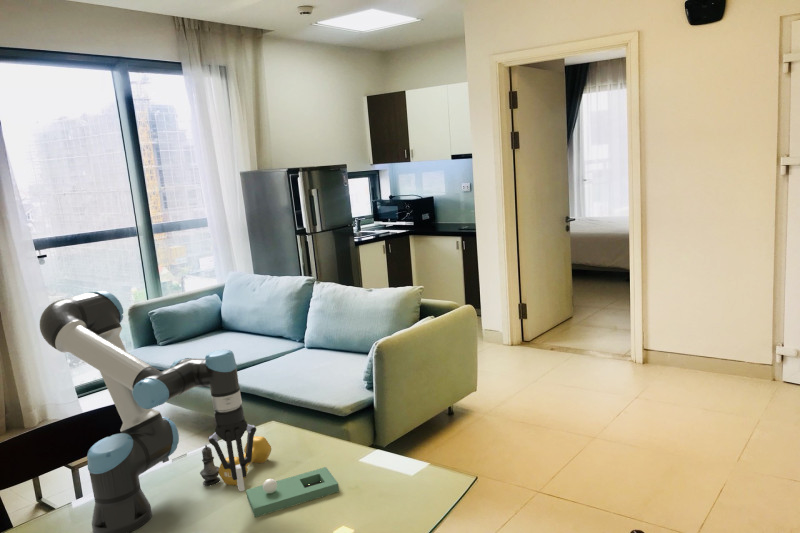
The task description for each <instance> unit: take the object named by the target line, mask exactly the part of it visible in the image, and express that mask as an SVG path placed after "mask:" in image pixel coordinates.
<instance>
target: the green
mask: <svg viewBox="0 0 800 533" xmlns="http://www.w3.org/2000/svg"><path fill="white" fill-rule="evenodd" d="M275 481H276V482H277V489H276V491H275V492H273V493H271V494H268V493H266V492H265V491H264V490H263V484H261V485H258V486H254V487H251V488H248V489H245V493H246V499H247V501H248V504H249V507H250V509H251V512H252V514H253V516H254V518H257V517H260V516H263V515H267V514H271V513H273V512H276V511H280V510H283V509H286V508H290V507H294V506H296V504H297V505H299V503H300V504H304V503H306V502H305V501H307V502H310V501H312V499H313V500H316V499H315V498H317V499H320V498H323V497H327V496H329V494H330V495H332V493H333V494H335V492H336V493H339V492H340V486H339V482H338V481H337V480H336V478H335V477H334V475H333V474H332V472H330V470H329V469H328V467H327V466H324V467H322V468H321V467H320V468H317V469H314V470H310V471H308V472H304V473H300V474H296V475H293V476H290V477H287V478H283V479H279V480H275ZM320 481H321V482H320ZM308 484H310V485H308ZM338 491H339V492H338ZM322 496H323V497H322ZM319 497H320V498H319ZM309 500H310V501H309ZM293 505H294V506H293Z"/></svg>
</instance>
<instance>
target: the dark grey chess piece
mask: <svg viewBox="0 0 800 533" xmlns="http://www.w3.org/2000/svg"><path fill="white" fill-rule="evenodd" d="M201 453H202V459H201V462H202V463H203V469H201V471H200V472H199V475H200V477H202V479H203V482H202V485H203V486H204V485H205V487H209V486H210V485H211V486H214V484H215V485H217V484H218V483H220V482H221V477H220V475H219V468H220V466H218V465H217V466H216V465H215V462H214V461H215V460H214V459H215V457H214V456H213V450H212V448H211V447H210V446H208V445H207V444H205V446H204V448H202V450H201ZM219 481H220V482H219ZM216 483H217V484H216ZM211 486H210V487H211Z"/></svg>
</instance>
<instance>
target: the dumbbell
mask: <svg viewBox="0 0 800 533" xmlns="http://www.w3.org/2000/svg"><path fill="white" fill-rule="evenodd" d="M245 443H246V444H245V446H244V449H243V454H244V458H245V457H246V447H247V442H245ZM271 453H272V445H271V444H270V442H269V441H268V440H267V438H265V436H256V435H254V438H253V449H252V460H251V462H250V463H247V464H246V466H245V467H246V473H247V474H248V471H249V470H248V467H249V465H250V464H251V463H254V464H262V463H265V462H266V461H267V460H268V459H269V457H270V455H271ZM225 459H226V461H227V462H229V456H226V457H225ZM234 460H235V465H238V464H240V462H239V457H238V456H234ZM218 476H219V478H220V479H221V480H222V481H223V483H224V484H225V485H227V486H238V485H237V479H236V480H233V478H232V474H231V469H224V467H223V465H222V463H220V465H219V475H218ZM245 480H246V477H243V481H244V482H245Z"/></svg>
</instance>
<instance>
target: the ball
mask: <svg viewBox="0 0 800 533" xmlns="http://www.w3.org/2000/svg"><path fill="white" fill-rule="evenodd" d="M276 481H277V480H275V479H273V478H267V479H265V481H263V483H262V485H263V490H264V491H265V492H266V493H268V494H271V493H273V492H275V491H276V489H277V482H276Z"/></svg>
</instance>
